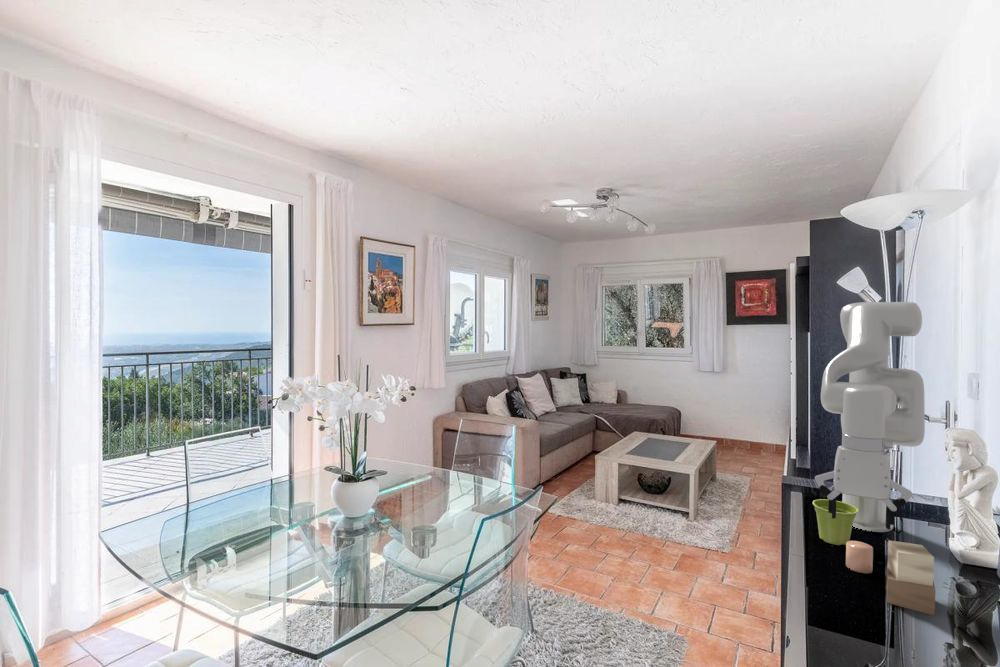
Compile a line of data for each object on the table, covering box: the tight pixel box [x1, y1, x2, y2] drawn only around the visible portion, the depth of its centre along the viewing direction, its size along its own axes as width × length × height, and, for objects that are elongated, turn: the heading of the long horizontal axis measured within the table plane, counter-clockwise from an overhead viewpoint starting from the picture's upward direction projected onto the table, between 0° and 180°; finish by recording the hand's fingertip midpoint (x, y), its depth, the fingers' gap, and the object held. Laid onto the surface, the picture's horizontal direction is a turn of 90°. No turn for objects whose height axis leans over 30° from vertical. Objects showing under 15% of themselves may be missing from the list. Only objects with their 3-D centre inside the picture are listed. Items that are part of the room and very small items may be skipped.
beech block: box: [887, 540, 935, 586], centre depth 99 cm, size 6×6×6 cm
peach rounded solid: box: [845, 540, 874, 574], centre depth 112 cm, size 5×5×5 cm
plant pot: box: [812, 498, 858, 546], centre depth 125 cm, size 9×9×9 cm
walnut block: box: [885, 563, 936, 616], centre depth 99 cm, size 7×7×5 cm
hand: (860, 521), depth 111 cm, fingers open, 9 cm apart
